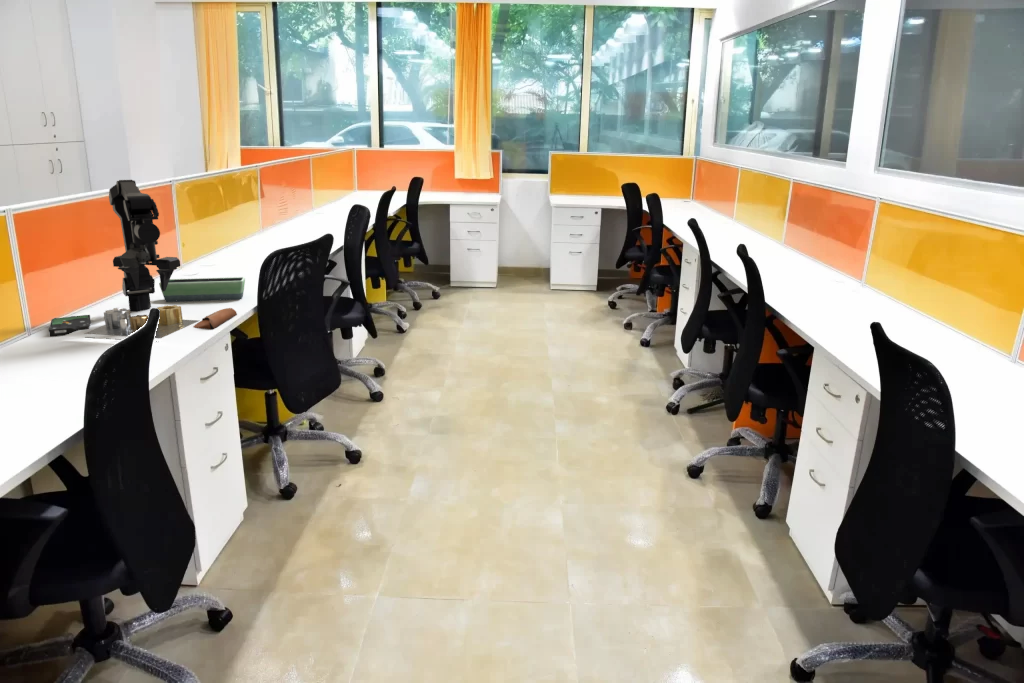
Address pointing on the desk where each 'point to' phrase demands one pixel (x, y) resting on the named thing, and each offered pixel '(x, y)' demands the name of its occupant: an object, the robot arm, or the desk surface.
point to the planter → (204, 289)
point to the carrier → (133, 324)
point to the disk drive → (68, 325)
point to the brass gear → (170, 314)
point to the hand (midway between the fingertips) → (150, 290)
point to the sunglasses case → (216, 319)
